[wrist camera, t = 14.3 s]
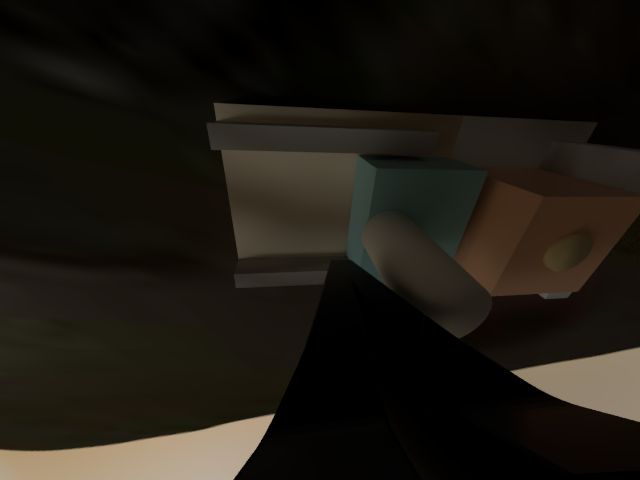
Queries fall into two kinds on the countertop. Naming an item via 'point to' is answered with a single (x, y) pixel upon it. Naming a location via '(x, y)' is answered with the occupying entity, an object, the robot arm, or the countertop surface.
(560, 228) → the box
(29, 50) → the countertop surface
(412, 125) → the frame
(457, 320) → the ram
